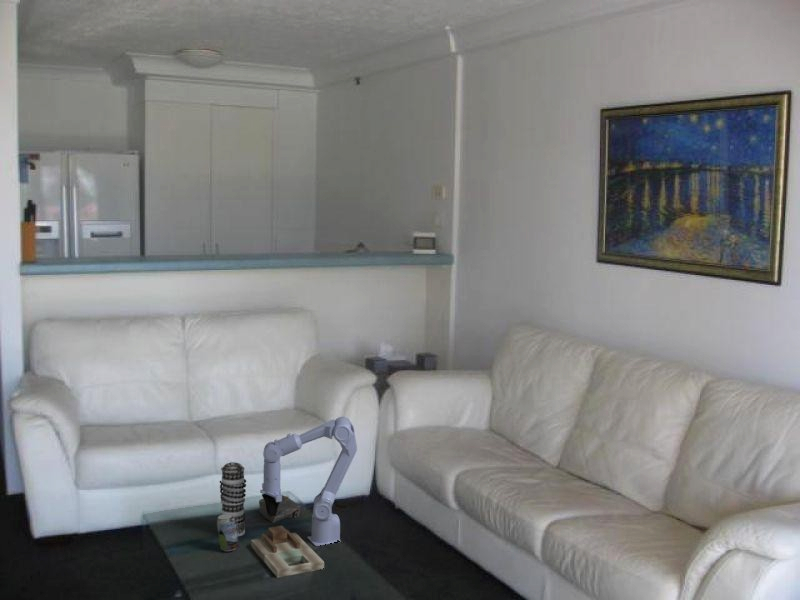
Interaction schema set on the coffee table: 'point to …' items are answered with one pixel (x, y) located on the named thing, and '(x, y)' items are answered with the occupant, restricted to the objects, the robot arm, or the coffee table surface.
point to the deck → (287, 555)
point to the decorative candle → (233, 494)
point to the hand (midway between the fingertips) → (271, 514)
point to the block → (277, 534)
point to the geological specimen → (281, 509)
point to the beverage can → (227, 532)
